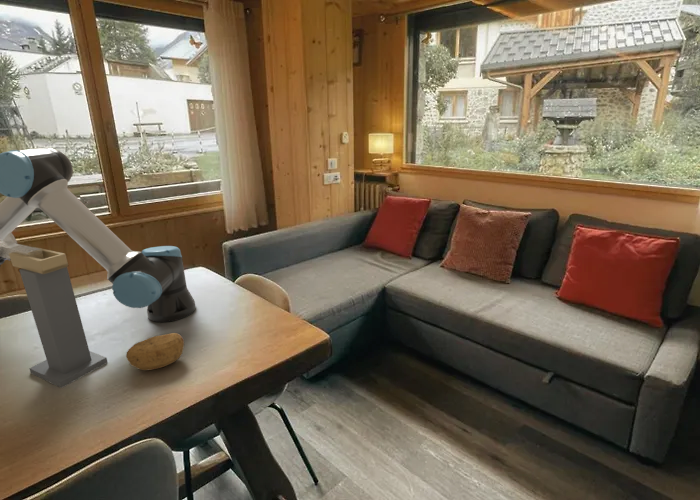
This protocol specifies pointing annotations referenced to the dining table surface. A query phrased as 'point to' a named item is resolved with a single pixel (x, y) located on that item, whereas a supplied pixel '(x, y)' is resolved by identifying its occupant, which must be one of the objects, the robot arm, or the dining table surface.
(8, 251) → the rail
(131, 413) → the dining table surface
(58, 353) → the stand
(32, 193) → the robot arm
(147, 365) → the potato
